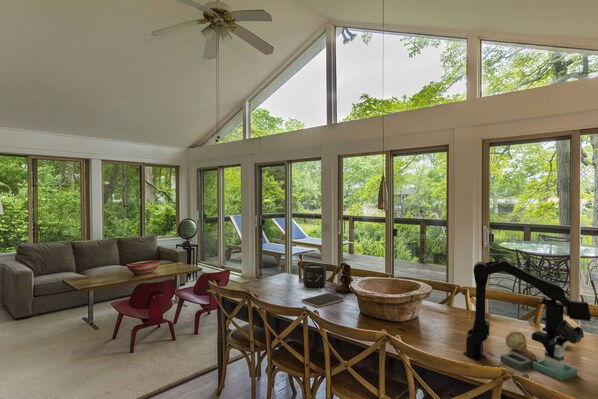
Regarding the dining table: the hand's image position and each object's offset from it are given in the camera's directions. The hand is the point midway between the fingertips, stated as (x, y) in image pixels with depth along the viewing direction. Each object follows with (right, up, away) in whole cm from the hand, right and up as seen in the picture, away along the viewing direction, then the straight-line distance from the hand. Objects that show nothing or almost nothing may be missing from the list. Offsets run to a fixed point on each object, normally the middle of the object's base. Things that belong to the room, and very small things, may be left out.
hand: (554, 356), depth 127 cm
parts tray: (0, -6, 0) cm, 6 cm away
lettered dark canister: (-86, -6, +128) cm, 154 cm away
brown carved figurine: (-64, -6, +114) cm, 131 cm away
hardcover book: (-82, -7, +90) cm, 122 cm away
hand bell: (-3, -2, +19) cm, 19 cm away
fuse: (0, -4, 0) cm, 4 cm away
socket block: (-10, -6, +6) cm, 13 cm away
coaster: (+18, -6, +25) cm, 32 cm away
